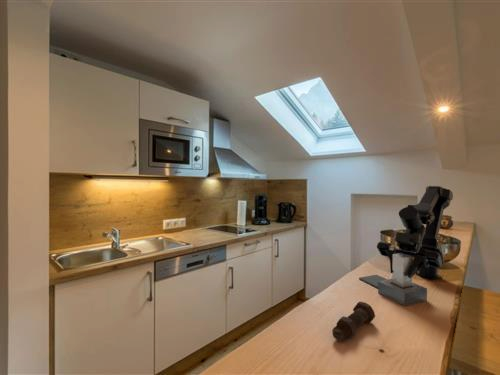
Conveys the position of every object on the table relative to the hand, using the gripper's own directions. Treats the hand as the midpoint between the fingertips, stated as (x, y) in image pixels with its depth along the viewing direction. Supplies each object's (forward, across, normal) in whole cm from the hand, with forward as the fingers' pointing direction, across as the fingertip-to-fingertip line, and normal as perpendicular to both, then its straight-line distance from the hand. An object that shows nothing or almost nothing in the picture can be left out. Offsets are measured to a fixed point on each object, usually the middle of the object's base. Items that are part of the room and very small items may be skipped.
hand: (400, 275), depth 83 cm
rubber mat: (0, -11, +10) cm, 15 cm away
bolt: (+26, -1, -15) cm, 30 cm away
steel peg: (+4, 0, +6) cm, 8 cm away
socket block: (+4, 0, +6) cm, 8 cm away
